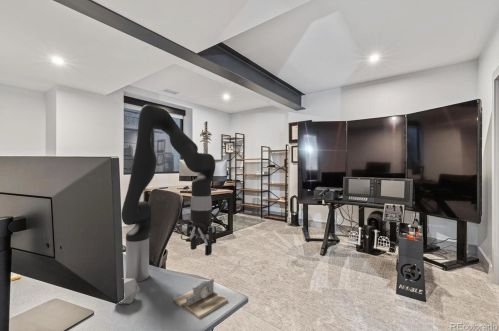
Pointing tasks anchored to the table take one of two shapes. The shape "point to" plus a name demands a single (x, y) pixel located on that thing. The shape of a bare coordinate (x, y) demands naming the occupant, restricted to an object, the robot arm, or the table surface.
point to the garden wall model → (197, 292)
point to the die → (130, 290)
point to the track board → (201, 303)
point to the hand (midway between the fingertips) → (200, 251)
